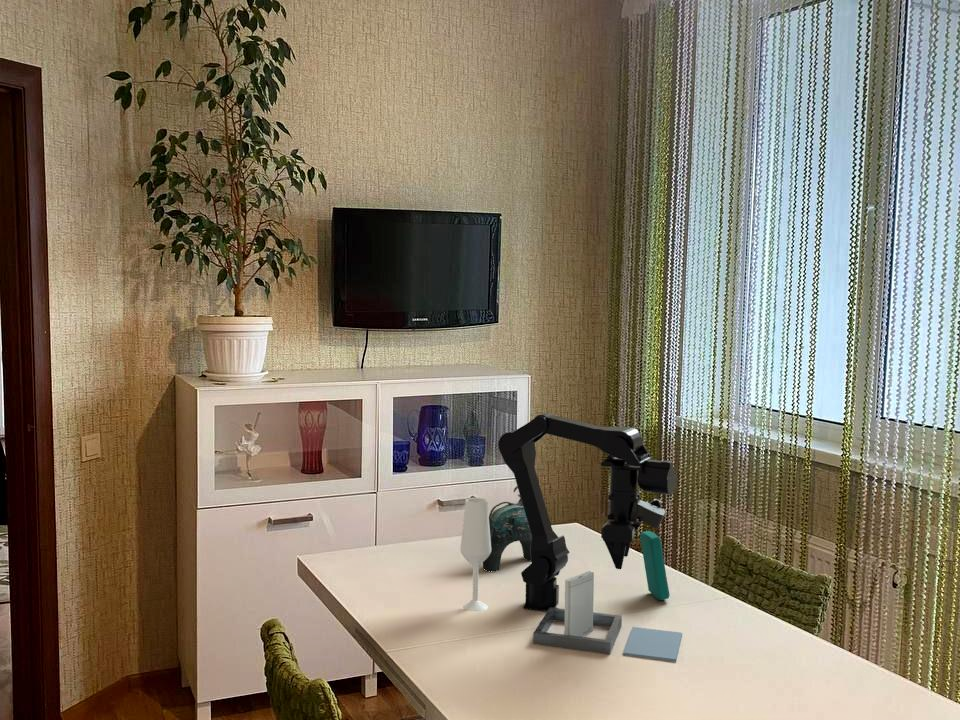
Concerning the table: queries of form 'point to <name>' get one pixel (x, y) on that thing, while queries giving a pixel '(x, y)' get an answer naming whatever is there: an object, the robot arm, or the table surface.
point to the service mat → (653, 644)
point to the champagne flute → (476, 543)
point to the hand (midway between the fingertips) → (621, 562)
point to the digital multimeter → (654, 565)
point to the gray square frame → (576, 641)
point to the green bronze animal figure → (507, 532)
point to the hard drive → (579, 604)
